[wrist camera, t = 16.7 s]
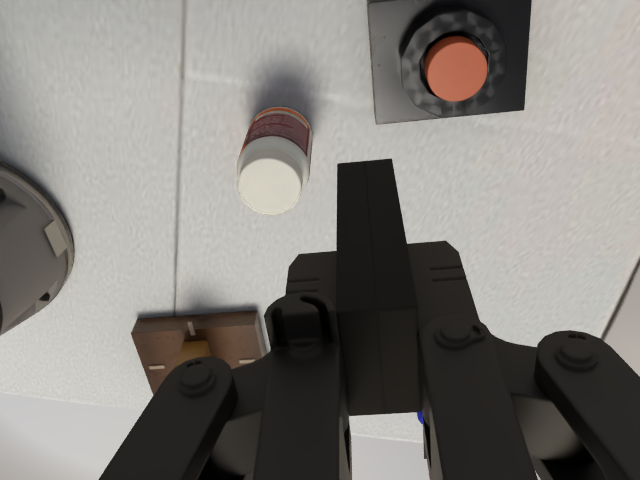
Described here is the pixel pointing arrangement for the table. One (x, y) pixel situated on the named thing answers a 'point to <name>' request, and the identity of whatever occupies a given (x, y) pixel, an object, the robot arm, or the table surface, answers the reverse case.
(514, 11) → the button box
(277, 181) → the pill bottle
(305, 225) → the table surface
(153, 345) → the lock plate
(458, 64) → the bell button
